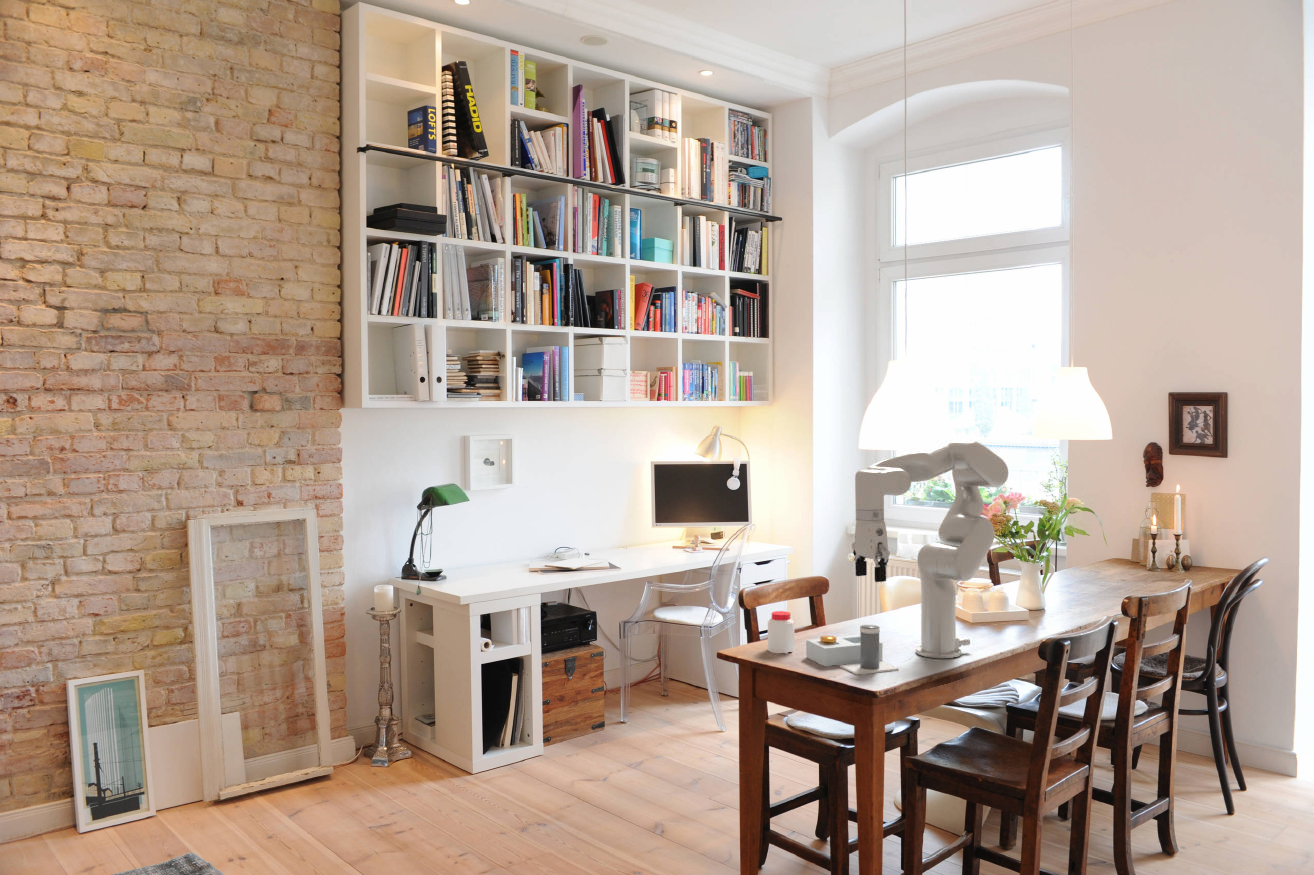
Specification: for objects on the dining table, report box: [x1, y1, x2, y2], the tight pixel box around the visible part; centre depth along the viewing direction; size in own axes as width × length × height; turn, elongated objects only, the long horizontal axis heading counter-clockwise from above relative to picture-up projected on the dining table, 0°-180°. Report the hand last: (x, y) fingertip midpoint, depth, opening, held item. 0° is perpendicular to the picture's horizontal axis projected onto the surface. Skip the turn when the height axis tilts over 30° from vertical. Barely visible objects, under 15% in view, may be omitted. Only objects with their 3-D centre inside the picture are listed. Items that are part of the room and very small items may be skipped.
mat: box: [839, 660, 899, 676], centre depth 275 cm, size 13×8×1 cm, turn 109°
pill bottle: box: [767, 610, 796, 654], centre depth 296 cm, size 8×8×11 cm
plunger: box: [819, 635, 837, 646], centre depth 284 cm, size 4×4×6 cm
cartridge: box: [859, 624, 881, 670], centre depth 275 cm, size 5×5×11 cm
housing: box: [805, 634, 883, 667], centre depth 286 cm, size 18×11×5 cm, turn 109°
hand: (870, 578), depth 275 cm, fingers open, 9 cm apart
